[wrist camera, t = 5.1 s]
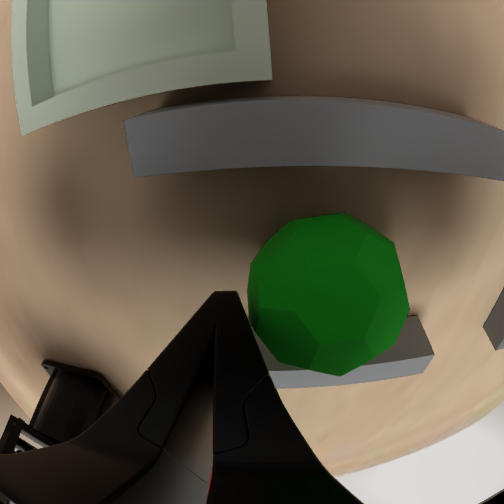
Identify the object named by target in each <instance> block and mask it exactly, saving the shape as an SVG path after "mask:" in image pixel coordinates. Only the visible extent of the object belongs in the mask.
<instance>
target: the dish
mask: <svg viewBox="0 0 504 504" xmlns="http://www.w3.org/2000/svg"><path fill="white" fill-rule="evenodd" d="M11 52H12V70H13V82H14V91H15V99H16V106H17V113H18V119H19V125H20V130H21V135H22V136H24V135H26V134H28V133H31V132H33V131H35V130H38V129H40V128H43V127H45V126H48V125H51V124H53V123H56V122H59V121H61V120H64V119H67V118H70V117H72V116H75V115H78V114H81V113H84V112H88V111H91V110H94V109H97V108H101V107H104V106H108V105H111V104H115V103H119V102H122V101H126V100H130V99H135V98H139V97H143V96H148V95H153V94H158V93H163V92H168V91H174V90H179V89H186V88H192V87H199V86H207V85H215V84H225V83H236V82H249V81H269V80H272V66H271V51H270V38H269V25H268V12H267V1H266V0H13V5H12V23H11Z"/></svg>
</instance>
